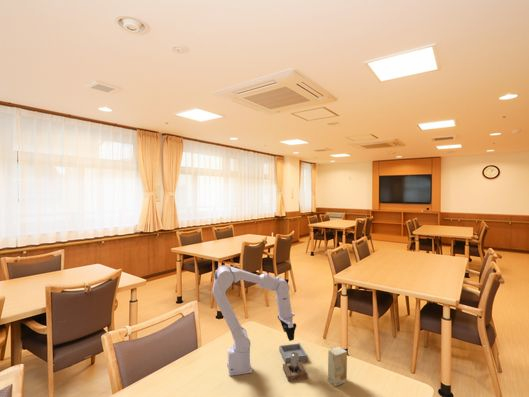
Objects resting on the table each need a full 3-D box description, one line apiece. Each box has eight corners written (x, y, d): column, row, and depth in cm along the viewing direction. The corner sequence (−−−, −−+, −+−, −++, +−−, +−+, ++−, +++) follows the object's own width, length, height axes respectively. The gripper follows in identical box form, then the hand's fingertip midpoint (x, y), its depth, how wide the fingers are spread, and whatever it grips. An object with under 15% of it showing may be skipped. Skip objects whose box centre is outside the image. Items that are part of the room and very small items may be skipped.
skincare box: (334, 387, 108) (334, 355, 108) (327, 380, 112) (327, 350, 112) (347, 381, 111) (347, 351, 111) (339, 375, 115) (339, 345, 114)
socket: (288, 381, 112) (288, 376, 111) (282, 368, 119) (282, 364, 119) (307, 378, 113) (307, 373, 113) (300, 366, 121) (300, 361, 121)
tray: (285, 363, 123) (285, 358, 123) (279, 350, 132) (279, 345, 132) (307, 360, 125) (307, 355, 125) (299, 348, 135) (299, 343, 134)
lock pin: (292, 376, 114) (292, 357, 114) (290, 371, 117) (290, 352, 117) (299, 375, 115) (299, 356, 115) (297, 370, 118) (297, 351, 118)
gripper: (298, 310, 117) (302, 341, 118) (288, 297, 132) (292, 325, 132) (281, 314, 116) (286, 346, 117) (273, 301, 130) (278, 329, 131)
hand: (288, 335), depth 125 cm, fingers open, 7 cm apart
